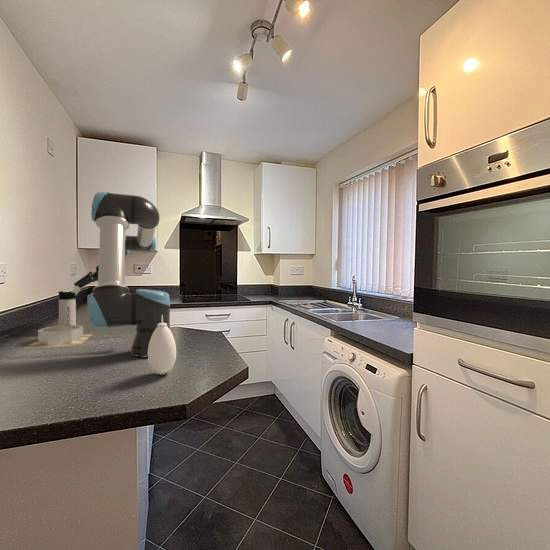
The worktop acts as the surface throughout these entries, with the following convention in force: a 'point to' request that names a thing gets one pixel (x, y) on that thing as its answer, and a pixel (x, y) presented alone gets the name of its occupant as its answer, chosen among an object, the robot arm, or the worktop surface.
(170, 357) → the sauce bottle
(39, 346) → the birch board
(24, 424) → the worktop surface
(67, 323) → the travel mug
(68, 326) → the collar
